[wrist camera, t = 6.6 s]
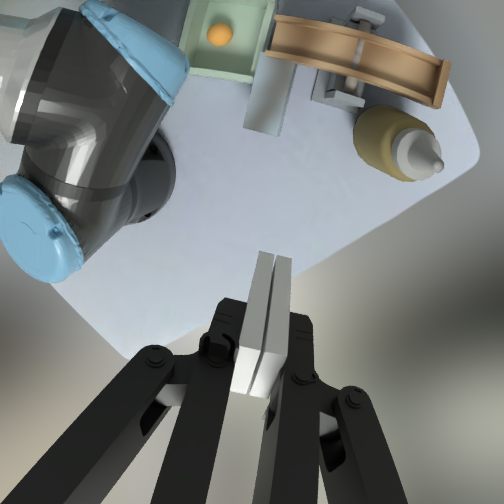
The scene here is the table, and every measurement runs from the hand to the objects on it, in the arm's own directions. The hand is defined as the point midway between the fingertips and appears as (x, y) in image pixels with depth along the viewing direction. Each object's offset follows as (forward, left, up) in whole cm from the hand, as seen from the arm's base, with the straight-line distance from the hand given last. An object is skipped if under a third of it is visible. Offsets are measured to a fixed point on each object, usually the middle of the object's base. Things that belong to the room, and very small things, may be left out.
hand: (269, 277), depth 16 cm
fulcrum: (+4, +16, -26) cm, 31 cm away
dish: (-10, +16, -26) cm, 32 cm away
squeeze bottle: (+11, +8, -27) cm, 30 cm away
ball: (-11, +16, -24) cm, 31 cm away
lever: (+5, +12, -22) cm, 25 cm away
